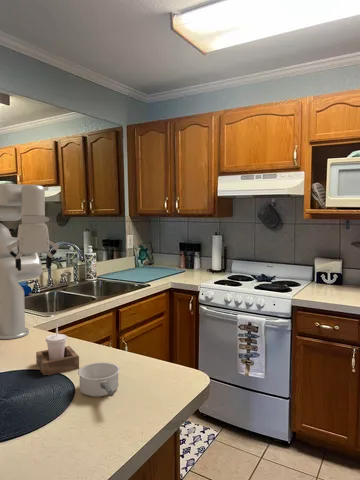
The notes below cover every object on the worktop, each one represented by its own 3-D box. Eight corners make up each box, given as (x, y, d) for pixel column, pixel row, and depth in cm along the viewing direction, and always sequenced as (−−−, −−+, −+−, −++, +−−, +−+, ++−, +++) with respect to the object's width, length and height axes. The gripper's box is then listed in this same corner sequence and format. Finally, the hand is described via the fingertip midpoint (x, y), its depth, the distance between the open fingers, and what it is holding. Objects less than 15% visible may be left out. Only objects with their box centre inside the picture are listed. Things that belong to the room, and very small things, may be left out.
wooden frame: (36, 363, 119) (36, 352, 118) (69, 357, 125) (69, 345, 124) (43, 376, 110) (43, 363, 109) (79, 368, 116) (79, 356, 115)
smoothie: (70, 362, 120) (69, 321, 119) (62, 370, 114) (61, 327, 113) (51, 361, 121) (50, 320, 120) (42, 369, 114) (41, 326, 113)
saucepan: (87, 420, 87) (87, 398, 86) (75, 384, 105) (75, 365, 105) (133, 410, 92) (133, 388, 91) (114, 377, 110) (114, 359, 109)
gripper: (56, 220, 134) (56, 266, 135) (4, 220, 124) (5, 269, 126) (61, 221, 127) (61, 269, 129) (7, 221, 118) (8, 272, 119)
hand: (33, 269), depth 127 cm, fingers open, 9 cm apart
